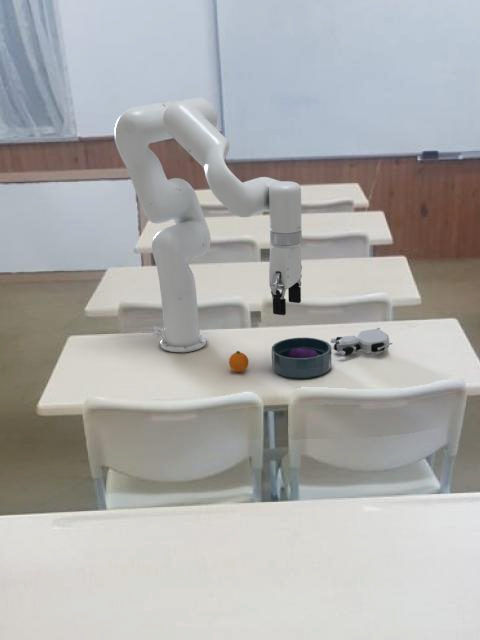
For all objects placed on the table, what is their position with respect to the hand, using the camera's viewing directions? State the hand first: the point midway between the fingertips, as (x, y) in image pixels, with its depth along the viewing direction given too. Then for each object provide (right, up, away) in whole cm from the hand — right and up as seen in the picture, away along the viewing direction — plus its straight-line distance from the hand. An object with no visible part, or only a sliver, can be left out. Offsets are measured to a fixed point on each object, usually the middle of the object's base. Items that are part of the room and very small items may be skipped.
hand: (287, 308), depth 211 cm
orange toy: (-12, -14, +7) cm, 20 cm away
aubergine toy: (+4, -12, +8) cm, 15 cm away
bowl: (+4, -13, +8) cm, 16 cm away
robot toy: (+20, -8, +16) cm, 27 cm away
